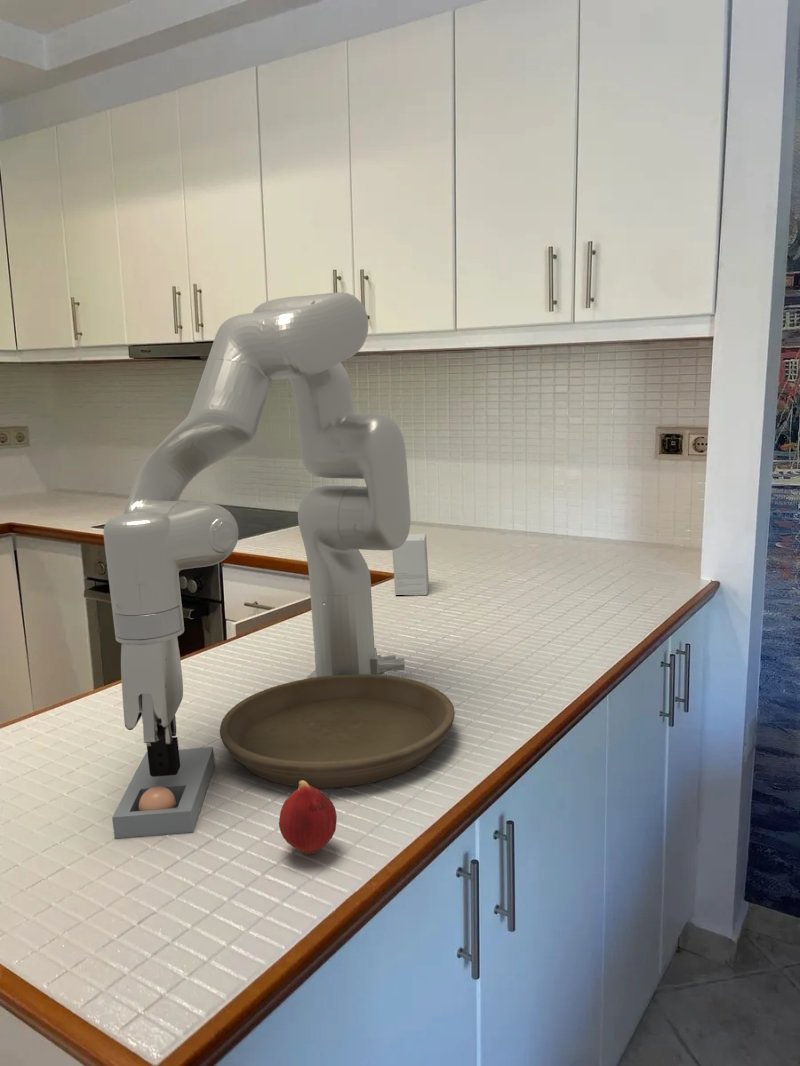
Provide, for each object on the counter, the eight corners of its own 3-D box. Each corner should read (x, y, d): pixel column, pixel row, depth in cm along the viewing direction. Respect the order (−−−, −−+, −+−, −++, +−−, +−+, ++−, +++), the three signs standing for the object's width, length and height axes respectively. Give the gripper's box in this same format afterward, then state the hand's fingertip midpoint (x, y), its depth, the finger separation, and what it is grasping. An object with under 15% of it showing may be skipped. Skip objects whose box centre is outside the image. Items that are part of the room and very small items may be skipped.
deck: (215, 765, 106) (213, 747, 106) (193, 832, 91) (190, 811, 90) (148, 770, 106) (146, 752, 106) (114, 838, 90) (112, 817, 90)
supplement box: (429, 587, 190) (427, 533, 188) (427, 595, 183) (425, 539, 180) (397, 588, 191) (394, 534, 189) (394, 596, 184) (391, 540, 181)
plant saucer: (336, 684, 133) (334, 657, 132) (500, 728, 114) (499, 697, 113) (174, 758, 110) (170, 725, 109) (345, 829, 90) (343, 790, 89)
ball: (171, 784, 92) (171, 823, 91) (179, 785, 96) (179, 821, 95) (134, 787, 92) (133, 825, 90) (144, 787, 95) (143, 824, 94)
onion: (339, 836, 89) (334, 766, 87) (337, 867, 83) (332, 793, 81) (285, 839, 88) (279, 769, 87) (279, 871, 83) (272, 796, 81)
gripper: (131, 606, 101) (147, 747, 105) (96, 645, 87) (115, 807, 90) (194, 602, 102) (208, 743, 105) (169, 640, 87) (186, 802, 91)
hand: (165, 772), depth 98 cm, fingers closed
